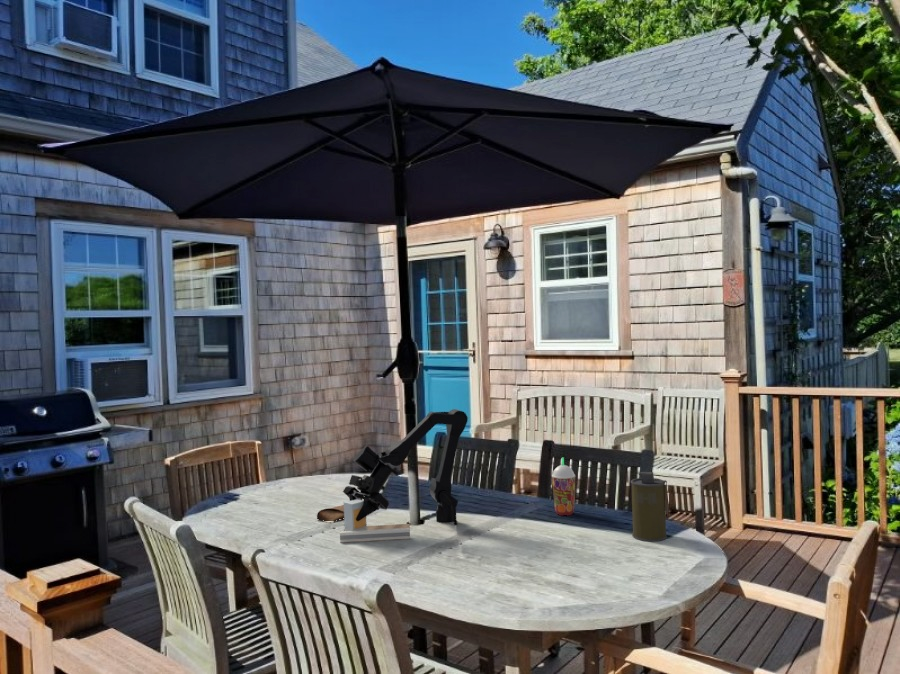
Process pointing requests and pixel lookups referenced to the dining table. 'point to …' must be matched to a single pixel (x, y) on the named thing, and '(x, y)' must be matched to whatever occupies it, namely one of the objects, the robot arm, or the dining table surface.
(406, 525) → the shelf board
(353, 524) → the carton
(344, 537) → the rail
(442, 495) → the robot arm
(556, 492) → the smoothie
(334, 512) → the sunglasses case
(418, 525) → the dining table surface
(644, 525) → the canister
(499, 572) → the dining table surface
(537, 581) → the dining table surface
